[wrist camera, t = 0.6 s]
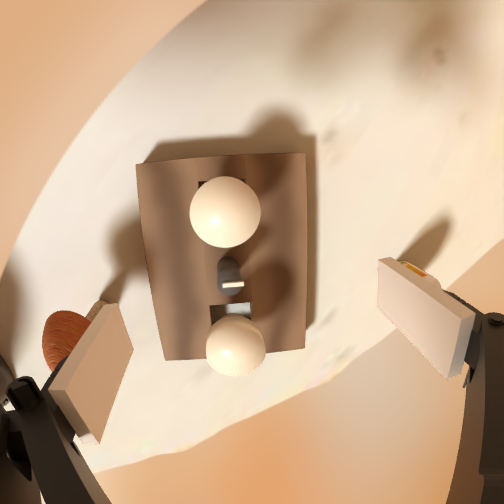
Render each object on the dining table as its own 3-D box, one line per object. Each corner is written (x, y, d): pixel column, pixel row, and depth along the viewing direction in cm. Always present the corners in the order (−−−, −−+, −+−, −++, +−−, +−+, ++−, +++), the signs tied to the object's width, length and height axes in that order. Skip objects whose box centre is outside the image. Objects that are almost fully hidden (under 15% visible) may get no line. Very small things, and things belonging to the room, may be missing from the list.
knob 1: (196, 235, 32) (192, 250, 26) (192, 177, 30) (186, 180, 25) (254, 231, 32) (262, 245, 27) (251, 173, 31) (259, 175, 25)
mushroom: (74, 272, 35) (15, 327, 21) (130, 280, 36) (88, 345, 22) (78, 325, 37) (32, 392, 23) (130, 334, 38) (99, 411, 24)
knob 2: (209, 349, 36) (209, 378, 30) (203, 305, 34) (202, 330, 29) (259, 345, 36) (266, 373, 31) (257, 301, 35) (265, 325, 29)
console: (167, 347, 39) (165, 360, 37) (142, 164, 33) (135, 164, 30) (299, 336, 41) (304, 348, 38) (298, 153, 34) (305, 153, 32)
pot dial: (217, 277, 34) (218, 297, 29) (215, 257, 34) (216, 274, 29) (240, 276, 35) (244, 295, 29) (238, 255, 34) (243, 272, 29)
